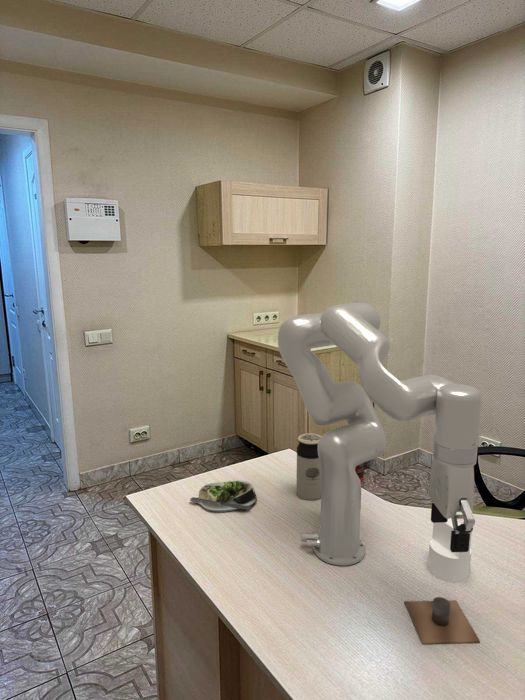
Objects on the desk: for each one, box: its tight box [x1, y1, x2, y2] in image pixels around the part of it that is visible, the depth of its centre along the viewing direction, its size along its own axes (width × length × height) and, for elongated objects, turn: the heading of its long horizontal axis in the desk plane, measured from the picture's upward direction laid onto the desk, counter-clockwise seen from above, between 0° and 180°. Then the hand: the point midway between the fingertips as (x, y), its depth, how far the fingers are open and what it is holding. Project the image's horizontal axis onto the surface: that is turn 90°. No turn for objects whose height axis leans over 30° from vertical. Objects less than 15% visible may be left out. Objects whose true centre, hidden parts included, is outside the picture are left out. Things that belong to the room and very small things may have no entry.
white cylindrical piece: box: [427, 518, 473, 584], centre depth 113 cm, size 9×9×12 cm
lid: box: [403, 596, 481, 646], centre depth 98 cm, size 11×11×5 cm
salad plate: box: [189, 479, 258, 513], centre depth 145 cm, size 19×18×5 cm
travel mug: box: [295, 433, 323, 501], centre depth 147 cm, size 8×8×18 cm
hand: (448, 535), depth 94 cm, fingers open, 9 cm apart
